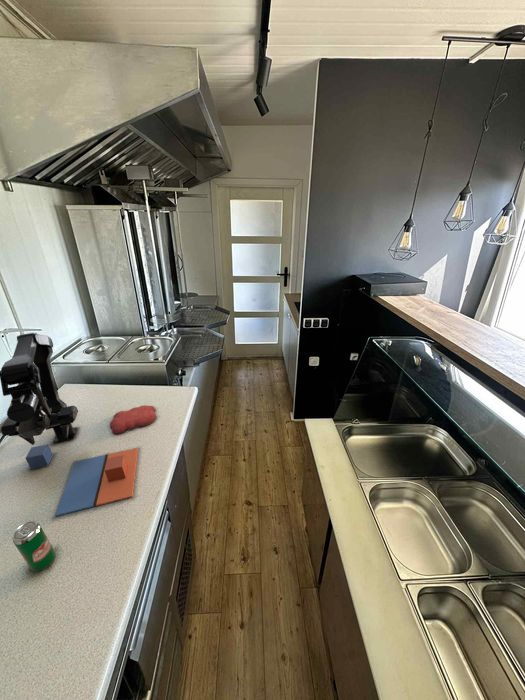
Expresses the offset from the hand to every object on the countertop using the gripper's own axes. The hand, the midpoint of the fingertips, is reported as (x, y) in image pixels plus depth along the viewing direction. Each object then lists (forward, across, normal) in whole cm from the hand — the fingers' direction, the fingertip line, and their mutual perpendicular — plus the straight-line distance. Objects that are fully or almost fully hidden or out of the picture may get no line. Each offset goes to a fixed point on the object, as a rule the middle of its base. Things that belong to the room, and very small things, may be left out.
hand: (50, 440), depth 92 cm
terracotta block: (+10, +19, -11) cm, 24 cm away
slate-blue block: (+11, -7, +3) cm, 13 cm away
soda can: (+10, +4, -33) cm, 35 cm away
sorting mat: (+11, +14, -11) cm, 21 cm away
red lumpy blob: (+11, +22, +17) cm, 30 cm away
